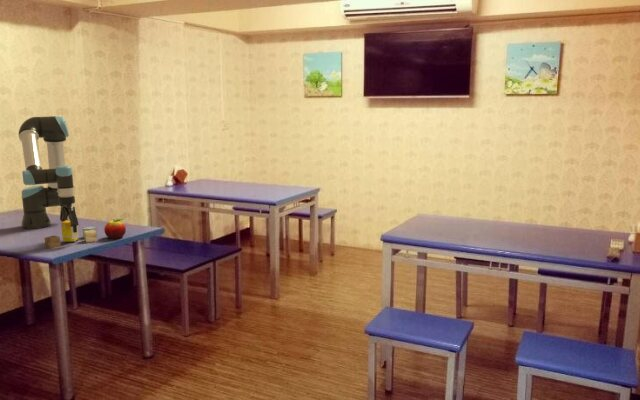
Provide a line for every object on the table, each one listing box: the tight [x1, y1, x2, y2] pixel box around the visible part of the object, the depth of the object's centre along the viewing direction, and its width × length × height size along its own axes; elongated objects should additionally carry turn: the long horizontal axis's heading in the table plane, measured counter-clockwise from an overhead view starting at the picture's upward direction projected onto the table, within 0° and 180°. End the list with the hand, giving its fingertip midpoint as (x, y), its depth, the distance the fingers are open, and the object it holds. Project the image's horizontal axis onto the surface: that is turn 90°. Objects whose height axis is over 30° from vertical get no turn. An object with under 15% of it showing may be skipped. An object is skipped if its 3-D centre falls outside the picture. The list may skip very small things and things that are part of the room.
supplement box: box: [60, 219, 80, 244], centre depth 272 cm, size 6×6×11 cm
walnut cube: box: [44, 235, 61, 249], centre depth 263 cm, size 5×5×5 cm
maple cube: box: [84, 230, 98, 243], centre depth 273 cm, size 5×5×5 cm
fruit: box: [103, 218, 127, 240], centre depth 279 cm, size 11×11×10 cm
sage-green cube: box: [82, 226, 98, 239], centre depth 282 cm, size 5×5×5 cm
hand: (70, 236), depth 272 cm, fingers open, 13 cm apart
